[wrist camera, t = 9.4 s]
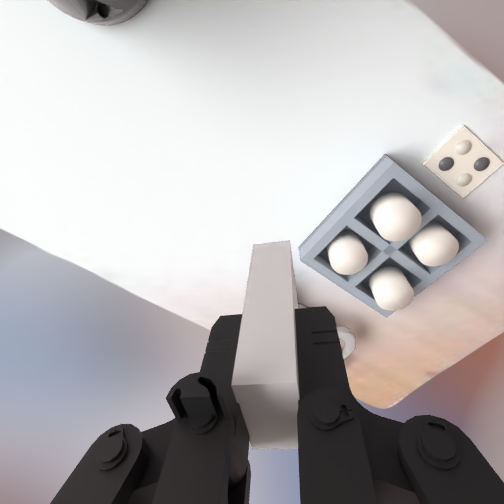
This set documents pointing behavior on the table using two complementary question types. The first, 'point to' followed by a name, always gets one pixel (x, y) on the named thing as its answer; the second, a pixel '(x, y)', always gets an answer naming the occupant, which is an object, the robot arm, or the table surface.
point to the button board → (379, 249)
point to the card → (463, 162)
